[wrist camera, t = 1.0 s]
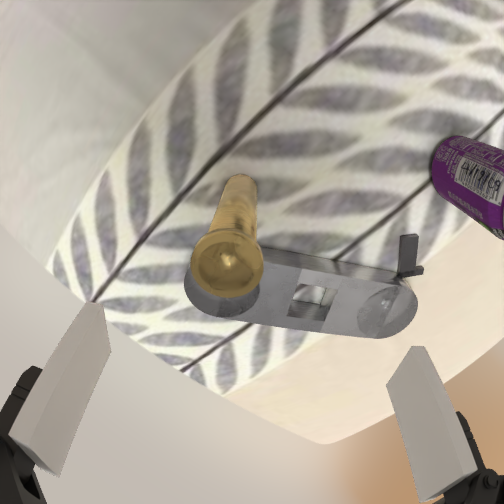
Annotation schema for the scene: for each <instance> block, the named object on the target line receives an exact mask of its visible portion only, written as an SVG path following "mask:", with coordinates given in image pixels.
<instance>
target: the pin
mask: <svg viewBox="0 0 504 504" xmlns="http://www.w3.org/2000/svg"><path fill="white" fill-rule="evenodd" d="M256 229H257V186H256V183H255V182H254V180H253V179H252V178H250V177H249V176H246V175H235V176H233V177H231V178H230V179H229V180H228V181H227V183H226V185H225V188H224V191H223V193H222V196H221V199H220V201H219V204H218V207H217V210H216V212H215V215H214V218H213V220H212V223H211V226H210V229H209V232H208V233H207V234H205V235H204V236H203V237H202V238H201V239H200V240H199V241H198V242H197V244H196V246H195V249H194V251H193V254H192V257H191V262H190V267H191V272H192V275H193V277H194V279H195V281H196V282H197V283H198V285H199V286H200V287H201V288H203V289H204V290H205V291H207V292H208V293H210V294H213V295H215V296H219V297H224V298H234V297H239V296H242V295H245V294H247V293H249V292H250V291H252V290H253V289H254V288H255V287H256V286H257V285H258V283H259V282H260V280H261V278H262V275H263V267H264V266H263V254H262V250H261V248H260V246H259V244H258V243H257V242H256Z"/></svg>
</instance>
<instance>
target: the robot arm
mask: <svg viewBox="0 0 504 504" xmlns="http://www.w3.org/2000/svg"><path fill="white" fill-rule="evenodd" d="M110 353H111V348H110V343H109V338H108V332H107V326H106V320H105V314H104V307H103V305H101V304H97V303H92V302H88V301H87V302H86V303H85V305H84V306H83V308H82V309H81V311H80V312H79V314H78V315H77V317H76V318H75V319H74V321H73V323H72V324H71V325H70V327H69V329H68V330H67V332H66V333H65V335H64V336H63V338H62V339H61V341H60V343H59V344H58V346H57V347H56V349H55V351H54V352H53V354H52V356H51V357H50V359H49V361H48V362H47V364H46V365H45V367H44V369H40V368H38V367H35V366H31V367H30V368H29V369H28V370H26V371H25V372H24V373H23V374H22V375H21V377H20V378H19V380H18V382H17V383H16V386H15V387H14V389H13V390H12V393H11V395H9V397H8V399H7V401H6V403H5V404H4V406H3V408H2V410H1V412H0V504H47V502H46V500H45V498H44V495H43V493H42V490H41V488H40V485H39V483H38V480H37V477H36V474H35V472H34V470H33V468H34V465H35V464H36V465H37V466H38V467H40V469H41V470H44V471H46V472H48V473H50V474H52V475H54V476H56V477H60V474H61V471H62V468H63V465H64V463H65V460H66V457H67V454H68V451H69V449H70V447H71V444H72V441H73V439H74V436H75V433H76V431H77V428H78V426H79V423H80V421H81V419H82V416H83V414H84V412H85V409H86V407H87V404H88V402H89V400H90V397H91V395H92V393H93V391H94V388H95V386H96V384H97V381H98V379H99V377H100V375H101V373H102V370H103V368H104V366H105V364H106V362H107V360H108V357H109V355H110ZM386 387H387V390H388V393H389V396H390V399H391V402H392V405H393V408H394V411H395V414H396V418H397V421H398V424H399V427H400V431H401V434H402V437H403V441H404V444H405V448H406V451H407V455H408V459H409V462H410V466H411V470H412V474H413V478H414V481H415V486H416V490H417V494H418V498H419V503H421V502H425V501H428V500H432V499H434V498H436V497H437V496H439V495H441V494H444V497H443V498H441V499H440V500H438V501H436V502H435V503H433V504H504V475H497V473H496V472H495V471H494V470H492V469H486V468H485V465H484V463H483V460H482V458H481V455H480V453H479V450H478V447H477V444H476V442H475V439H473V434H472V432H470V427H469V425H468V423H467V420H466V419H465V418H464V416H463V415H462V414H461V413H460V412H459V411H458V412H455V410H454V407H453V405H452V403H451V401H450V398H449V396H448V394H447V392H446V390H445V387H444V385H443V383H442V381H441V379H440V377H439V375H438V373H437V370H436V368H435V366H434V364H433V362H432V360H431V358H430V356H429V354H428V352H427V350H426V348H425V347H424V346H411V348H410V350H409V351H408V353H407V354H406V356H405V357H404V359H403V361H402V362H401V364H400V365H399V367H398V368H397V370H396V371H395V373H394V374H393V376H392V377H391V379H390V380H389V382H388V383H387V384H386Z"/></svg>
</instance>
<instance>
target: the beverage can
mask: <svg viewBox="0 0 504 504" xmlns="http://www.w3.org/2000/svg"><path fill="white" fill-rule="evenodd" d="M432 179H433V183H434V186H435V188H436V190H437V192H438V193H439V194H440V195H441V196H442V197H443V198H444V199H446V200H447V201H449V202H450V203H452V204H453V205H455V206H456V207H457V208H459V209H460V210H462V211H463V212H464V213H466V214H467V215H469V216H470V217H471V218H473V219H474V220H475V221H477V222H478V223H479V224H481V225H482V226H483V227H485V228H486V229H487V230H489V231H490V232H491V233H492V234H494V235H495V236H496V237H498V238H499V239H502V240H504V150H502V149H499V148H496V147H493V146H491V145H488V144H485V143H482V142H479V141H476V140H473V139H470V138H466V137H463V136H453V137H450V138H448V139H447V140H445V141H444V142H443V143H442V144H441V145H440V146H439V148H438V149H437V151H436V153H435V156H434V159H433V163H432Z"/></svg>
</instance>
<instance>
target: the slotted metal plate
mask: <svg viewBox="0 0 504 504" xmlns="http://www.w3.org/2000/svg"><path fill="white" fill-rule="evenodd" d="M260 248H261V250H262V254H263V266H264V267H263V275H262V278H261V280H260V282H259V283H258V285H257V286H256V287H255V288H254V289H253V290H252V291H250V292H249V293H247V294H245V295H242V296H239V297H234V298H224V297H219V296H215V295H213V294H210V293H208V292H207V291H205V290H204V289H203V288H201V287H200V286H199V285H198V283H197V282H196V281H195V279H194V277H193V275H192V272H191V267H190V265H189V267H188V270H187V272H186V275H185V279H184V288H185V292H186V295H187V297H188V298H189V300H190V301H191V303H192V304H193V305H194V306H195V307H196V308H198V309H199V310H201V311H202V312H204V313H206V314H209V315H212V316H216V317H221V318H226V319H232V320H238V321H244V322H250V323H256V324H262V325H269V326H275V327H282V328H289V329H296V330H304V331H311V332H319V333H327V334H336V335H345V336H354V337H364V338H374V339H381V338H387V337H390V336H393V335H395V334H397V333H399V332H400V331H402V330H403V329H404V328H405V327H407V326H408V325H409V324H410V322H411V321H412V320H413V318H414V316H415V314H416V311H417V307H418V301H417V297H416V295H415V294H414V292H413V290H412V289H411V287H410V286H409V284H408V283H407V281H406V280H405V279H404V278H402V277H400V276H399V275H398V273H396V272H392V271H387V270H382V269H377V268H372V267H366V266H361V265H356V264H351V263H346V262H341V261H335V260H330V259H325V258H320V257H314V256H309V255H304V254H299V253H293V252H288V251H283V250H278V249H272V248H267V247H262V246H260ZM297 283H302V284H307V285H313V286H319V287H325V288H326V291H325V294H324V296H323V299H322V301H321V304H313V303H307V302H300V301H294V300H292V298H293V295H294V292H295V289H296V286H297Z"/></svg>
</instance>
